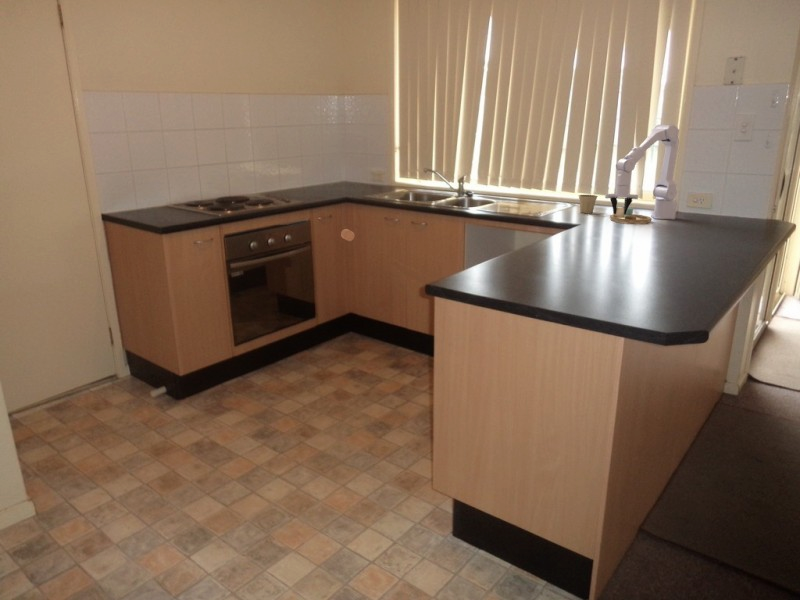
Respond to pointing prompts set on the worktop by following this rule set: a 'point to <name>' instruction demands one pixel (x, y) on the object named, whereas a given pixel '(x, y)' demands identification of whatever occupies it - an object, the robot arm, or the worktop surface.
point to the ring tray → (632, 219)
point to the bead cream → (619, 212)
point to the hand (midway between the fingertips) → (619, 213)
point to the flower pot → (587, 203)
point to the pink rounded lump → (347, 235)
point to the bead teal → (629, 212)
